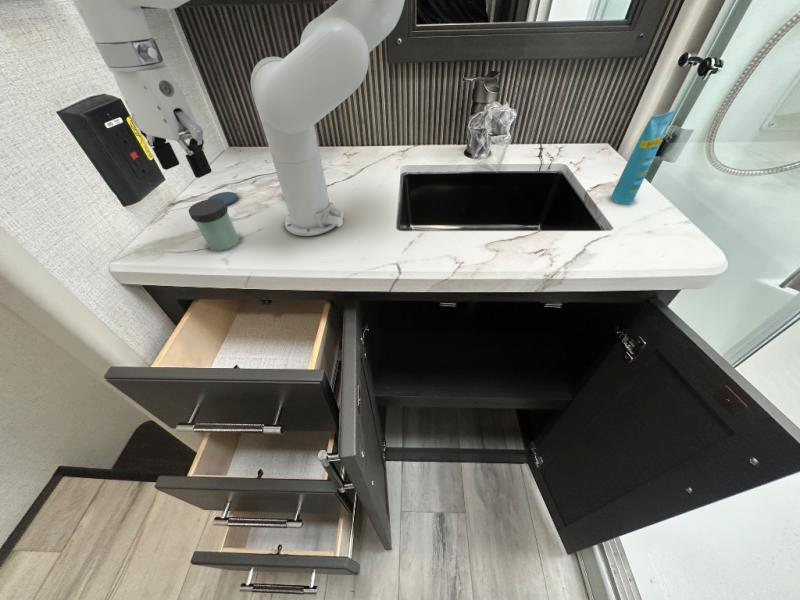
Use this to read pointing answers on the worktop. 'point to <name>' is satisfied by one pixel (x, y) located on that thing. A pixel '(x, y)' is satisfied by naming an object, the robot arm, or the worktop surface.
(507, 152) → the worktop surface
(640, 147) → the tube
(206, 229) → the jar
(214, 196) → the coaster
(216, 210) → the lid
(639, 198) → the worktop surface
